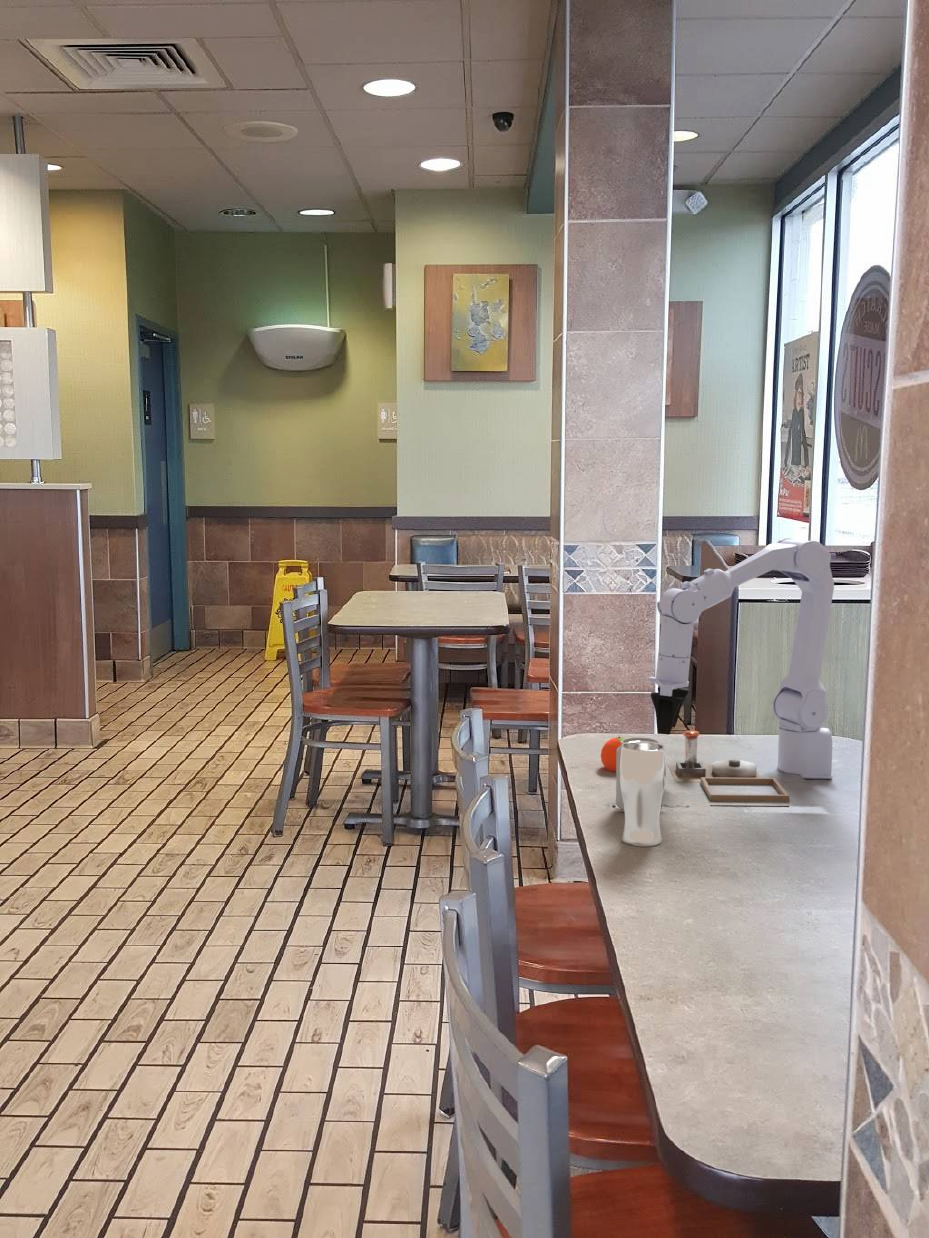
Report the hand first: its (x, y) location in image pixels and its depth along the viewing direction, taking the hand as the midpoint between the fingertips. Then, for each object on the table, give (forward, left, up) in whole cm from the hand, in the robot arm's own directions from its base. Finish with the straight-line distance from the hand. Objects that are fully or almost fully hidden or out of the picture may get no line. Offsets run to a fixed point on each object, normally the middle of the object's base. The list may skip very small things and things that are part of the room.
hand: (666, 729), depth 202 cm
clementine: (+7, -8, -11) cm, 15 cm away
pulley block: (-10, -5, -10) cm, 15 cm away
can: (+6, +15, -11) cm, 19 cm away
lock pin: (-5, -5, -9) cm, 12 cm away
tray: (-13, +7, -10) cm, 18 cm away
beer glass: (+7, +31, -11) cm, 34 cm away
